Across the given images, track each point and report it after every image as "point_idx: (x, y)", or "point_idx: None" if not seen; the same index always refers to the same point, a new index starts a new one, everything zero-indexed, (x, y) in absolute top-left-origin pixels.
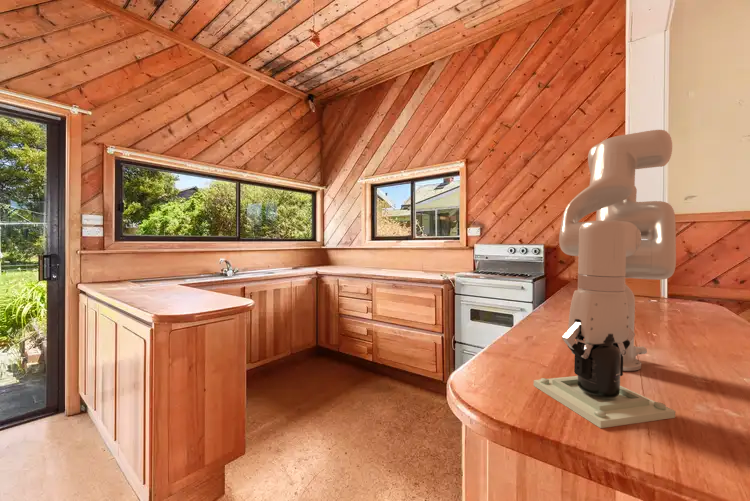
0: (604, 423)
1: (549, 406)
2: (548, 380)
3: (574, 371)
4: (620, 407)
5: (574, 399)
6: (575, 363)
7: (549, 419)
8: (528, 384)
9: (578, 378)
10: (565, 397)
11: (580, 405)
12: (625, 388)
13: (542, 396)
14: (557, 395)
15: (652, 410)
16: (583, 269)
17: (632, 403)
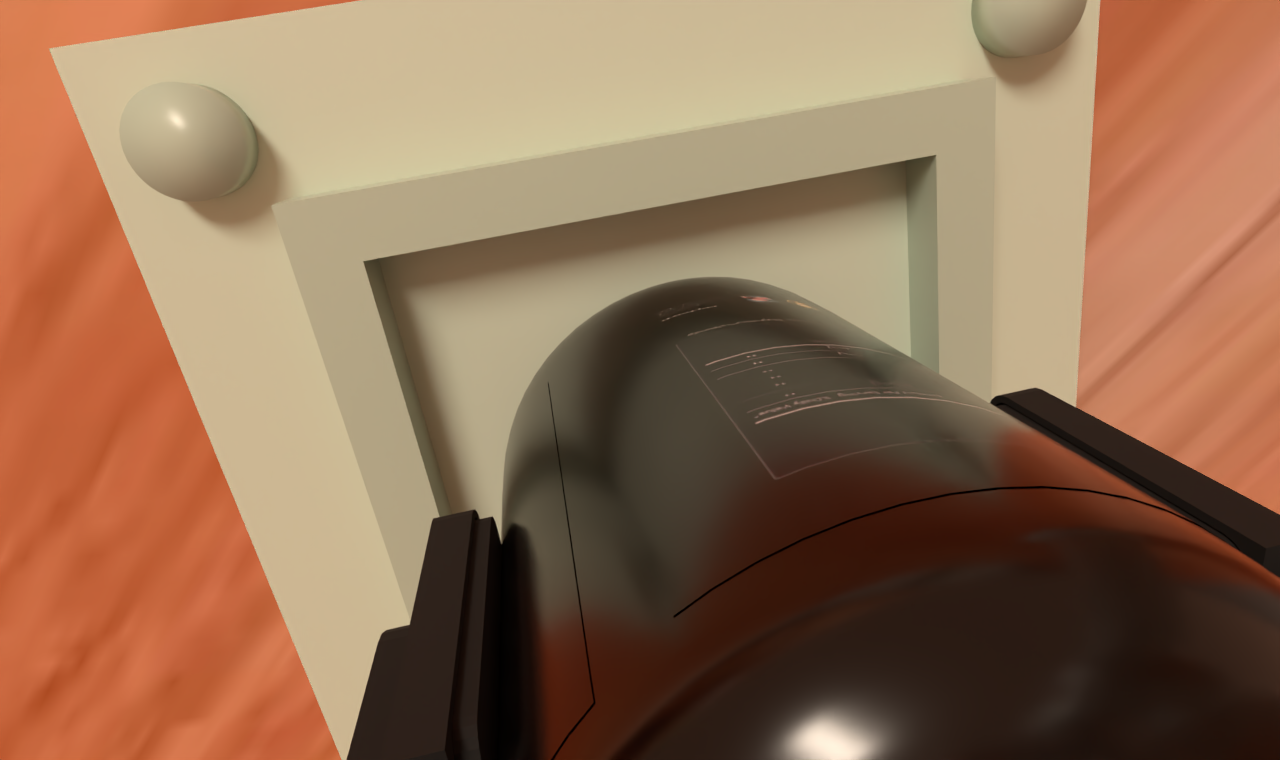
0: None
1: (110, 543)
2: (231, 170)
3: (434, 522)
4: None
5: (360, 560)
6: (365, 718)
7: (19, 735)
8: (31, 5)
9: (512, 457)
10: (285, 524)
11: (353, 659)
12: (1071, 315)
13: (114, 347)
14: (226, 466)
15: None
16: None
17: None
